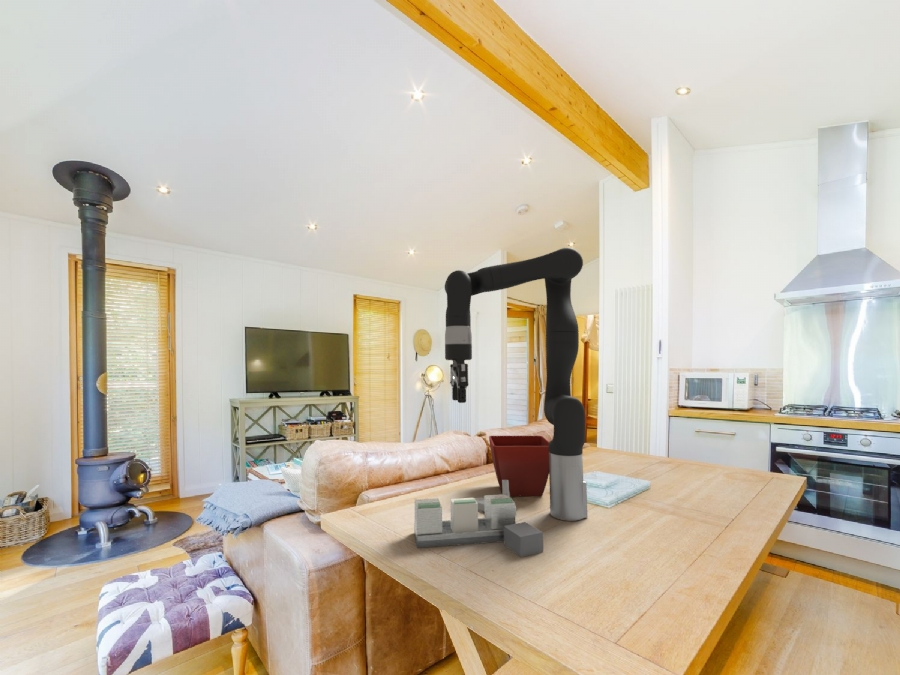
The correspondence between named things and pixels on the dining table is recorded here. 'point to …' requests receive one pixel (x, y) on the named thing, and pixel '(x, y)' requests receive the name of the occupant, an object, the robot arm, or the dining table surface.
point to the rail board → (440, 533)
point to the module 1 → (464, 515)
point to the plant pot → (521, 463)
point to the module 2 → (523, 539)
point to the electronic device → (505, 491)
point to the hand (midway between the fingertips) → (458, 401)
